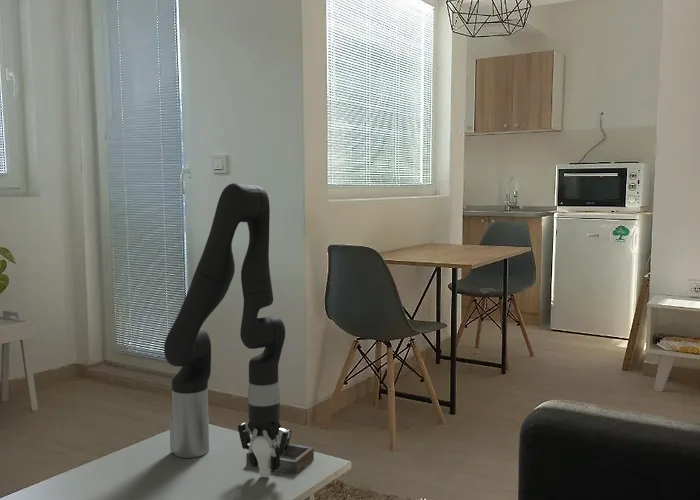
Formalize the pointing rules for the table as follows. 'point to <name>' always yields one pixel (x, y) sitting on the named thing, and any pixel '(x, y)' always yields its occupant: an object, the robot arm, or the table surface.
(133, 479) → the table surface
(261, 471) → the lightbulb
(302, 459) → the brown wooden shallow box
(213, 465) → the table surface
